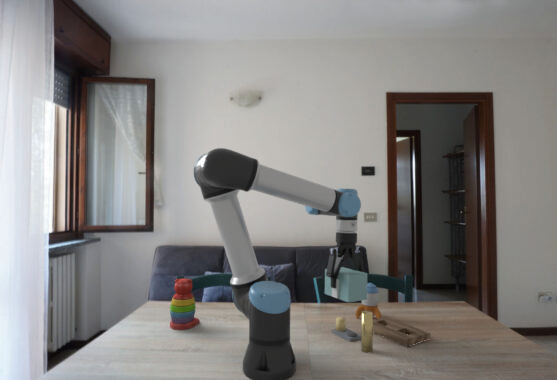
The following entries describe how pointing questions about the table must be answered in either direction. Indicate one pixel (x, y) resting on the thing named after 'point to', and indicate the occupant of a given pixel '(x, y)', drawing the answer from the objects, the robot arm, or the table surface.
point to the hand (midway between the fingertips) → (345, 295)
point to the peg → (367, 331)
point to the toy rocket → (370, 302)
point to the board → (399, 331)
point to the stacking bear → (183, 306)
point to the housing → (349, 285)
